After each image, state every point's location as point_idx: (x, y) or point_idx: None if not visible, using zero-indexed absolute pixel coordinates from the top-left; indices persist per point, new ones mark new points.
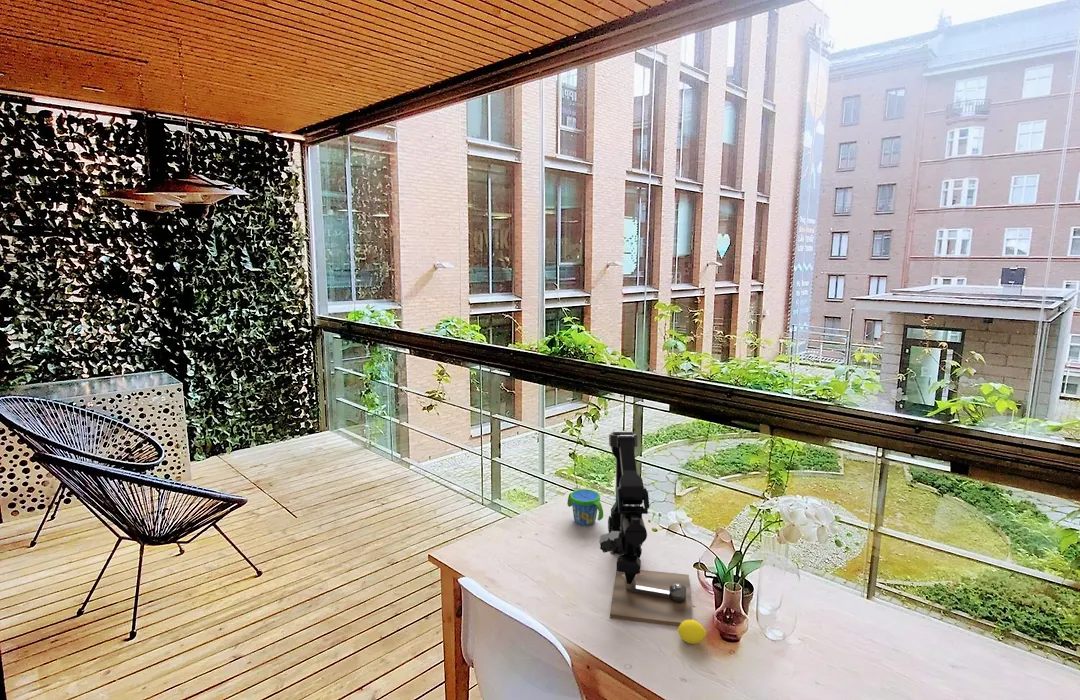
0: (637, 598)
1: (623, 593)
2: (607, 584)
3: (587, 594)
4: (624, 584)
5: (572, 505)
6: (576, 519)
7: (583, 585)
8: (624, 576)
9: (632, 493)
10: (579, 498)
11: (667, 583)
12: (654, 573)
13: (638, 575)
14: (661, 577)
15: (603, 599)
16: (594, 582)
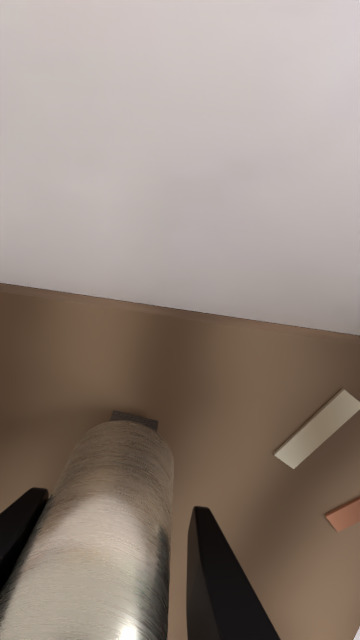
0: (46, 470)
1: (96, 385)
2: (270, 265)
3: (114, 67)
4: (106, 433)
5: None
6: None
7: (263, 22)
8: (81, 507)
9: None
10: None
11: None
12: (347, 589)
13: (335, 502)
14: (297, 616)
15: (59, 220)
16: (307, 147)
